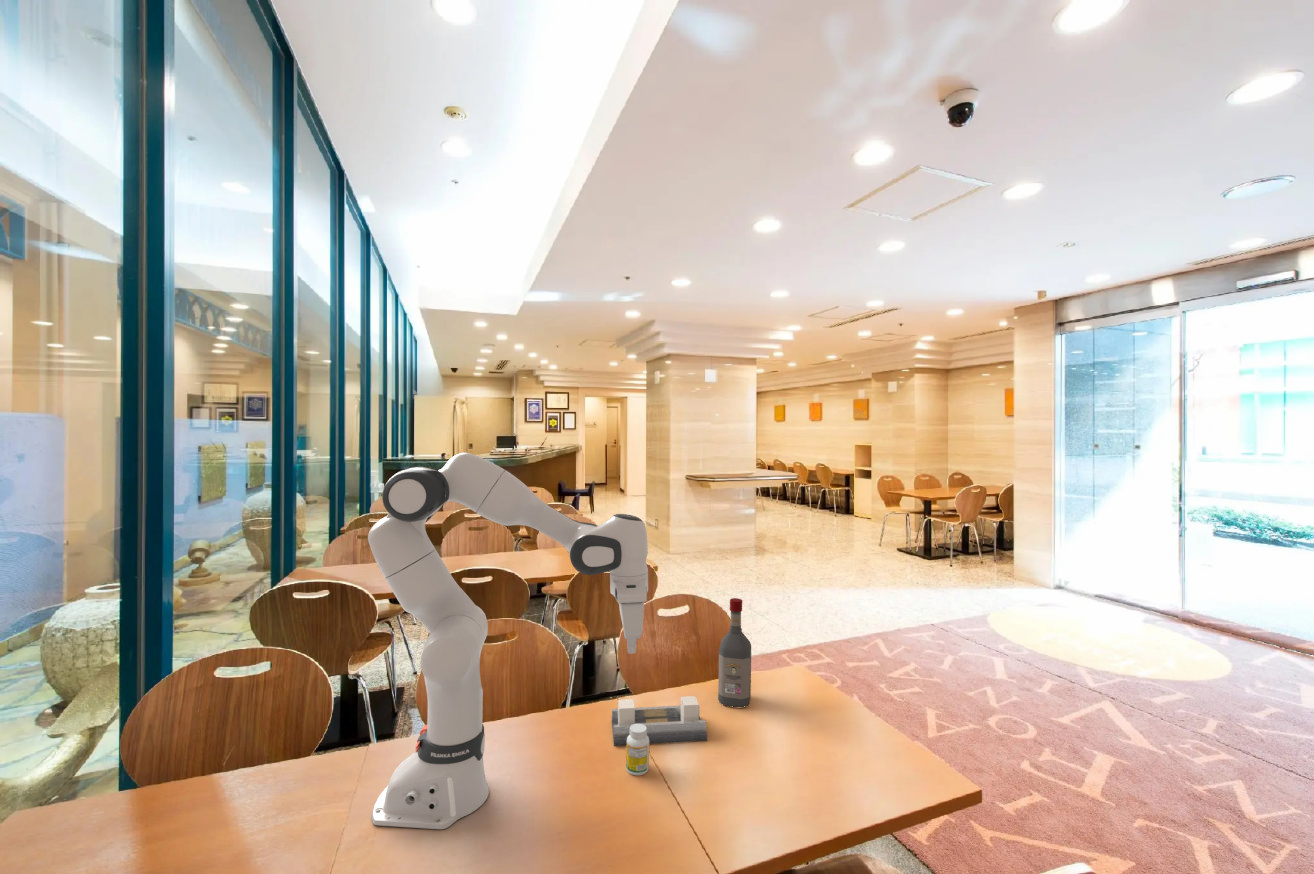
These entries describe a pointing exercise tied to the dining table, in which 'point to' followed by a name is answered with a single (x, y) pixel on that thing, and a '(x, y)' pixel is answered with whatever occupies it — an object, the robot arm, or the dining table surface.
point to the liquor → (735, 662)
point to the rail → (660, 726)
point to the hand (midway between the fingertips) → (629, 644)
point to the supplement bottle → (637, 750)
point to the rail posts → (687, 713)
